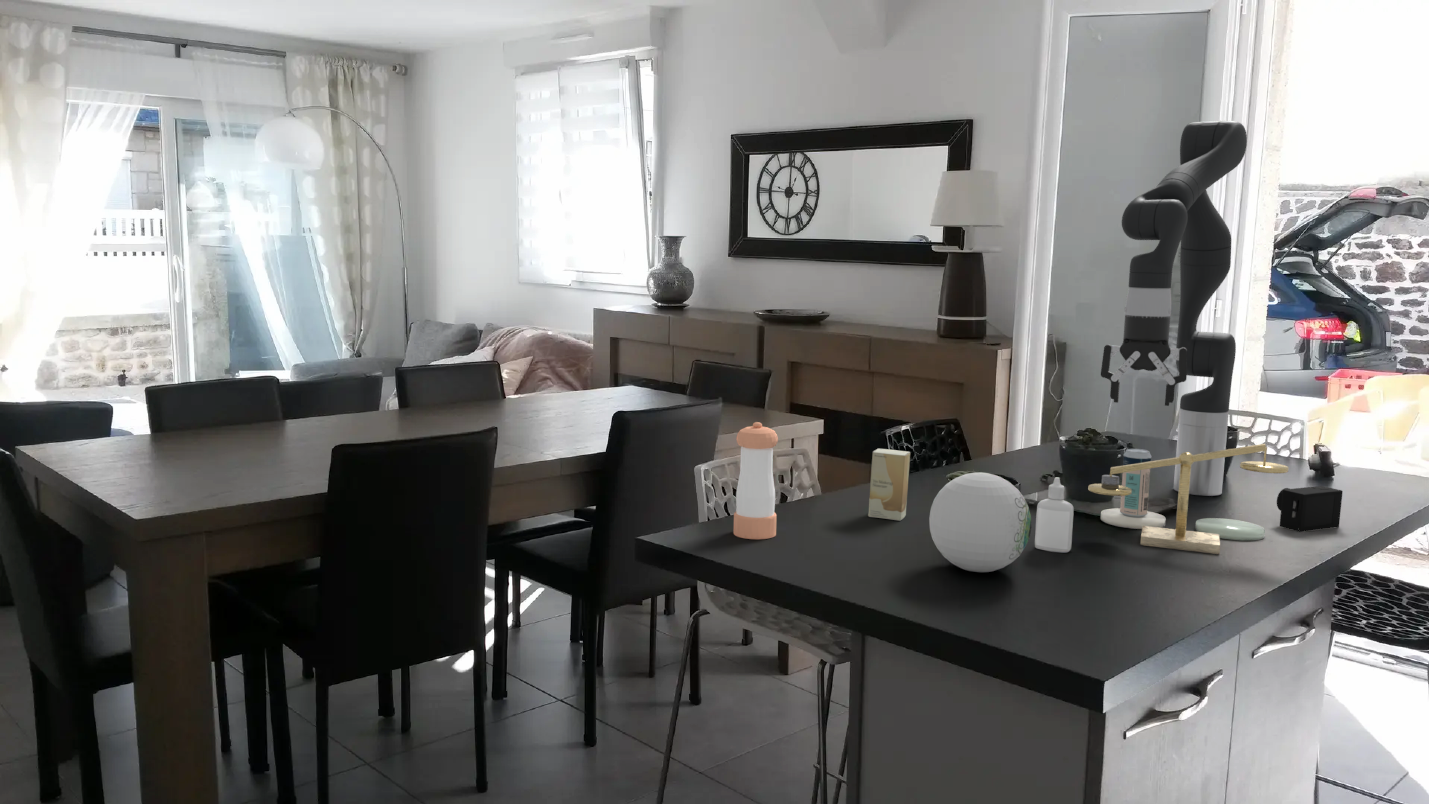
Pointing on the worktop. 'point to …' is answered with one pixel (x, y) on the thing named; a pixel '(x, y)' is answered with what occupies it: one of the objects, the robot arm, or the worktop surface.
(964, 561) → the decorative object
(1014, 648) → the worktop surface
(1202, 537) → the balance
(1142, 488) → the beer can
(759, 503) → the pepper shaker
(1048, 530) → the eye dropper bottle
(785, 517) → the worktop surface
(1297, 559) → the worktop surface
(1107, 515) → the glossy white dome
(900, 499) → the skincare box
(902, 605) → the worktop surface
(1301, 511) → the digital camera
